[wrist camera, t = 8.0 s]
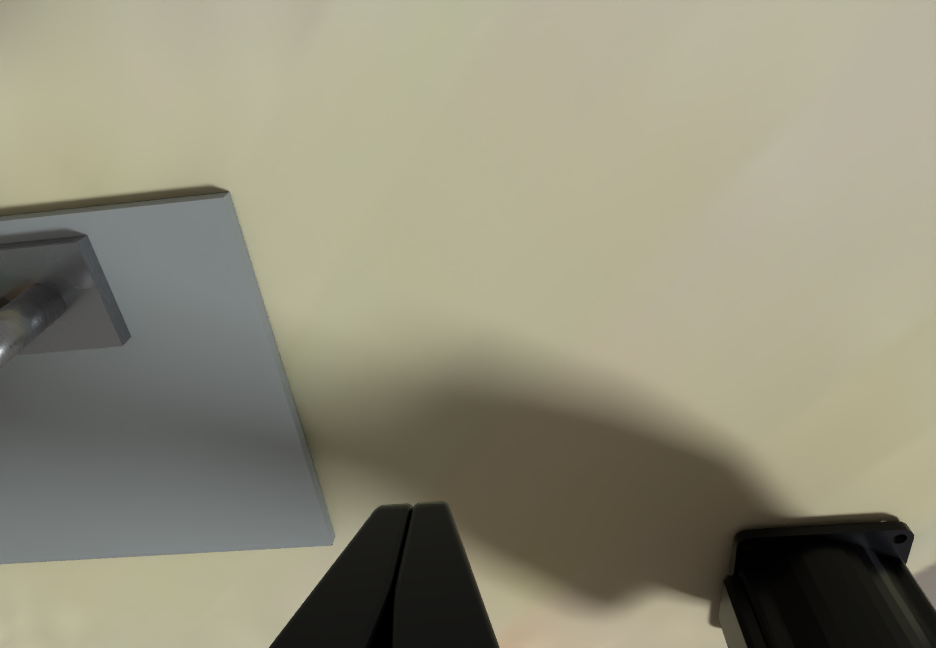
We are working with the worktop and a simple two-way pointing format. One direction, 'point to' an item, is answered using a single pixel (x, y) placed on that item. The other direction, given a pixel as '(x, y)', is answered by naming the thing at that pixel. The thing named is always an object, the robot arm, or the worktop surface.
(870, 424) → the worktop surface
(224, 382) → the yard mat
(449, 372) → the worktop surface
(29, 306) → the post on square base
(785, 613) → the robot arm
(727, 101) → the worktop surface
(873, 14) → the worktop surface
